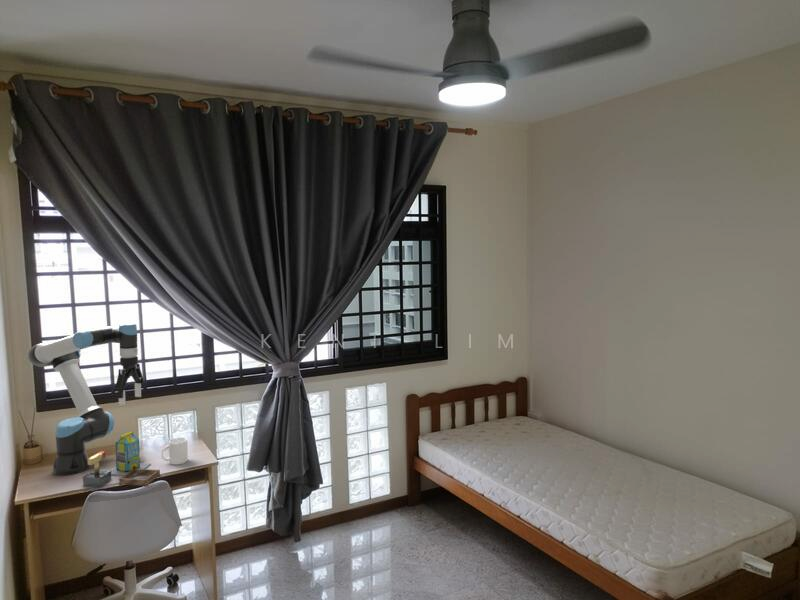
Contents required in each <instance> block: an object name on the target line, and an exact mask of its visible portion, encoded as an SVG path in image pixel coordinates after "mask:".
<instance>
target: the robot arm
mask: <svg viewBox="0 0 800 600" xmlns="http://www.w3.org/2000/svg"><path fill="white" fill-rule="evenodd" d="M137 327H138V325H137V324H136V323H132V322H131V323H130V322H126V323H125V322H124V323H120V324H119V325H118V326H112V325H107V326H106V325H105V326H102V327H100V328H95V329H88V330H87V329H86V330H84V329H83V330H80V331H77V332H75V333H74V334H72V335H69V336H66V337H64V338H61V339H60V338H59V339H57V340H53V341H47V342H42V343H37V344H35V345H33V346H32V347H31V348H30V349H29V351H28V353H27V358H28V361H29V362H30V363H31V364H32V365H33V366H37V367H39V368H43V367H46V368H47V367H50V366H52V368H53V371H55V372H58V373H59V374H60V376H61V379H62V380H63V383H64V385H65V387H66V389H67V391H68V393H69V396H70V397H71V399H72V402H73V404H74V406H75V407H76V410H77V413H78V416H74V417H70V418H66V419H64V420H61V421H60V422H58V423H57V424H56V427H55V433H54V435H55V440H56V441H55V444H56V445H55V446H56V447H55V448H56V449H55V450H56V457H55V460H54V463H53V466H52V473H53V474H54V475H57V476H69V475H75V474H79V473H82V472H85V471H87V470H88V469H90V467H91V465H88V458H89V457H88V454H87V452H86V444H87V443H90V442H94V441H95V440H99V439H103V438H104V437H106V436H109V435H110V434H111V433H112V432H113V431H114V426H115V419H114V417H113V414H111V412H109V411H105V410H104V409H103V407H102V406H99V405H98V403H97V402H96V400H95V398H94V396H93V393H92V392H91V390H90V387H89V385H88V383H87V380H86V379H85V377H84V375H83V373H82V371H81V369H80V368H81V367H80V366H79V363H80V357H81V350H84V349H87V348H90V347H95V346H101V345H105V344H106V345H107V344H112V343H113V344H117V343H118V344H119V357H120V358H119V364H120V366H122V369H121V368H119V369H118V372H117V373H118V375H117V378H116V383H115V387H114V391H115V392H118V395H117V396H118V405H119V406H125V405H126V391H125V388H126V386H127V382H128V380H129V378H130V377H132V379H133V380H134V382H135V383H134V397H135V398H142V384H143V383H144V376H143V373H142V370H141V367H140V363H139V357H138V351H139V350H138V329H137Z"/></svg>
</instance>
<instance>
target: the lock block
mask: <svg viewBox="0 0 800 600" xmlns="http://www.w3.org/2000/svg"><path fill="white" fill-rule="evenodd" d="M111 480H112V475H111V470H104V469H103V470H102V469H99V474H95V469H93V470H92V471H90V472H89V473H87V474H86V475H84V476H83V477H82V486H83V487H95V488H96V487H97V488H98V487H99V488H101V487H102V486H104V485H105V484H107V483H108V482H110V481H111Z"/></svg>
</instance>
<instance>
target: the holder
mask: <svg viewBox="0 0 800 600" xmlns="http://www.w3.org/2000/svg"><path fill="white" fill-rule="evenodd" d="M134 473H137V474H138V475H137V476H148V477H147V478H146V479H145V478H143V479H142V478H131V477H133V476H132V475H133V474H134ZM160 475H161V471H160V469H149V468H148V469H147V468H146V469H132V470H131V471H130V472H128V473H127V474H125V475H124V476H120V478H119V479H118V480H119V481H118V482H119V485H122V486H123V485H124V486H145V487H147V486H149V484H151V483H152V482H153V481H155V480H156V479H157V478H158V477H159V476H160Z"/></svg>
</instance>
